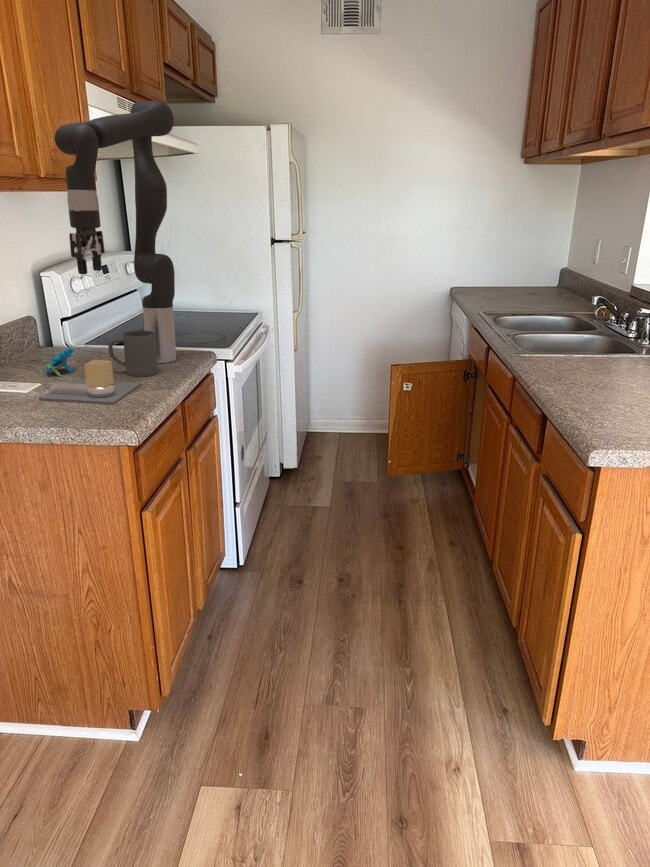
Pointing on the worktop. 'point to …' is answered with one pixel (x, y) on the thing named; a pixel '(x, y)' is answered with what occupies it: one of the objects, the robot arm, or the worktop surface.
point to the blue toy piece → (60, 362)
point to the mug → (138, 353)
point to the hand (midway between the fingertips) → (90, 272)
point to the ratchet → (82, 390)
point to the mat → (120, 392)
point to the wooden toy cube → (99, 373)
